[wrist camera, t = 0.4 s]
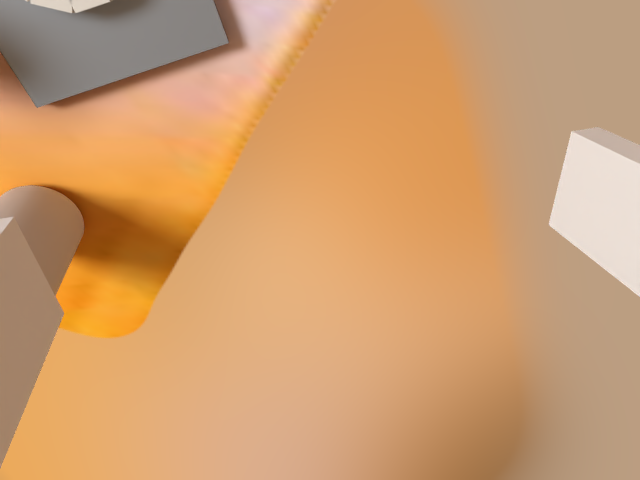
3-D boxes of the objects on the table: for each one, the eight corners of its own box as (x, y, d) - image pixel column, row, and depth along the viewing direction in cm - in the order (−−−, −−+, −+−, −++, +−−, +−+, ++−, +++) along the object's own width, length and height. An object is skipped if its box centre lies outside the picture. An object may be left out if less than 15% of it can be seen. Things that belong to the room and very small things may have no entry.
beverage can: (-6, 174, 34) (-97, 264, 24) (88, 188, 36) (40, 276, 26) (0, 245, 37) (-79, 351, 27) (86, 254, 39) (43, 356, 29)
